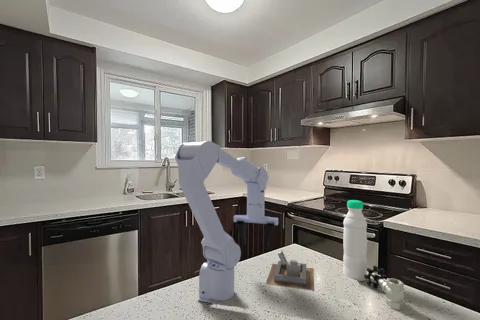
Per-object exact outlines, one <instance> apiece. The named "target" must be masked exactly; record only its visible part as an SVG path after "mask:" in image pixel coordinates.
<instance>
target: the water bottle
mask: <svg viewBox="0 0 480 320" xmlns="http://www.w3.org/2000/svg"><path fill="white" fill-rule="evenodd" d="M346 207H347V209H348V212H347V213H346V215H345V217H344V219H343V222H342V224H343V236H342V237H343V239H342V240H343V241H342V242H343V243H342V245H343V247H342V248H343V257H342V259H343V260H342V263H343V266H342V267H343V269H342V272H343V275H344V276H345V277H347V278H350V279H355V280H356V281H357V282H364V281H367V279H365V278H364V275H365V274H366V275H368V272H367V264H368V259H367V253H368V234H367V232H368V231H367V227H368V223H367V220H366V219H365V216H364V214H363V212H362V211H363V208H364V202H363V201H361V200H357V199H349V200H348V201H347V202H346Z"/></svg>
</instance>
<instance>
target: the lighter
mask: <svg viewBox="0 0 480 320" xmlns="http://www.w3.org/2000/svg"><path fill="white" fill-rule="evenodd" d="M277 255H278V258H279V261H281V263H282V265H285V264H287V275H288V276H296V277H300V264H298V263H299V262H298V261H297V260H295V259H294V260H293V259H291V260H290V261H288V260H287V258H286V256H285V253H284V252H283V249H280V250H278V251H277Z"/></svg>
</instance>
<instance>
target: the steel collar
mask: <svg viewBox="0 0 480 320" xmlns="http://www.w3.org/2000/svg"><path fill="white" fill-rule="evenodd" d="M298 264H300V271H302V277H296V276H288V275H281V274H280V273H281V269H287V264H285V265H282V263H281V260H278V262H277V268H276V271H275V274H274V282H278V283H285V284H292V285H299V286H306V268H307V263H303V262H302V263H300V262H298Z"/></svg>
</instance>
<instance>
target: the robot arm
mask: <svg viewBox="0 0 480 320" xmlns="http://www.w3.org/2000/svg"><path fill="white" fill-rule="evenodd" d="M174 160H175V162H176V164H177V166H178V168H177V169H178V170H177V172H178V184H179V187H180V189H181V191H182V193H183V196H184V198H185V199H186V201H187V204H188V205H189V206H188V207H189V208H190V210H191V212H192V214H193V216H194V218H195V220H196V222H197V225H198V227H199V230H200V231H201V233H202V236H203V238H202V240H201V242H200V244H201V245H202V254H203V257H204V258H205V259H206V262H203V264H201V267H200V270H199V275H198V297H197V301H199V302H204V303H209V304H210V303H211V304H216V305H222V306H227V307H231V306H232V305H231V304H225V303H221V302H215V301H227V300H229V299H231V298H233V297H234V295H235V267H237V265H238V263H239V261H240V260H241V257H242V256H241V255H242V252H241V247H240V245H239V244H238V243H236V241H235V240H234V238H233V237H232V236H231V235H230V234H228V233H227V232H226V231H225V230H224V227H223V224H222V223H221V221H220V218H219V216H218V213H217V211H216V209H215V206H214V204H213V202H212V199H211V197H210V195H209V193H208V190H207V188H206V186H205V183H204V182H205V180H206V179H207V178H208V176H209V175H210V173H211V171H212V170H213V169H214V167H215V166H216V164H218V165H220V166H223V167H225V168H228V169H229V170H230V171H231V174H232V175H234V176H236V177H237V178H239V179H241V180H243V182H244V183H245V184H246V214H235V215H234V216H233V222H234V223H236V224H235V228H236V229H237V230H238V233H239V237H240V238H241V245H243V246H245V245H246V244H247V225H248V223H249V224H251V223H252V224H263V225H265V248H269V246H270V241H271V240H270V239H271V237H272V232H273V230H274V228H275V227H276V226H278V225H279V217H271V216H268V215H267V216H266V215H265V194H266V193H265V191H266V190H267V184H268V181H269V175H268V171H267V170H266V168H264V167H262V166H261V167H259V166H257V165H256V163H254V162H250V161H249V160H248V158H247V157H244V156H243V157H242V156H241V157H237V158H236V157H234V156H233V155H231V154H230V153H228V152H227V151H225V150H224V149H223V148H221V145H220V144H217V143H215V142H213V141H211V140H205V141H197V142H189V141H186V142H183V143H181V144H180V145H179V147H178V148H177V152H175V156H174ZM211 299H212V300H215V301H210V300H211Z"/></svg>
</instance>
